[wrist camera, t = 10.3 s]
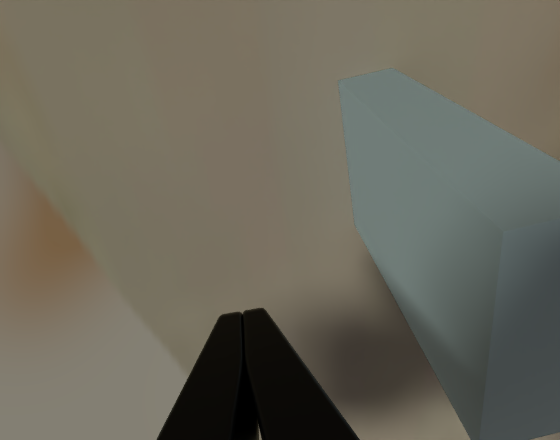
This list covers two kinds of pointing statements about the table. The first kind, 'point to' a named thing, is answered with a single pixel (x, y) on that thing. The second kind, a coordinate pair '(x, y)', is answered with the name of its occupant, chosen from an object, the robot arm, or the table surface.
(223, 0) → the table surface
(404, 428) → the table surface
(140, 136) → the table surface
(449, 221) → the blue-grey rectangular block
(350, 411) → the table surface
